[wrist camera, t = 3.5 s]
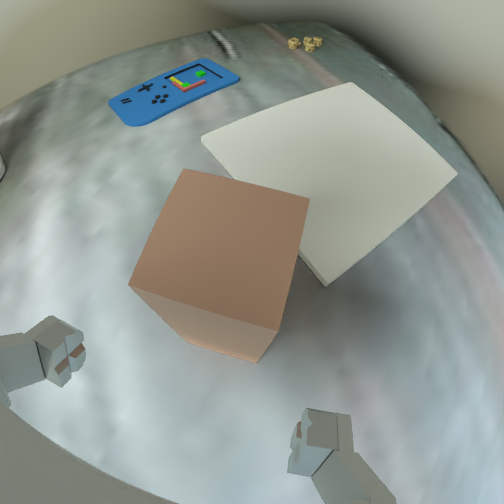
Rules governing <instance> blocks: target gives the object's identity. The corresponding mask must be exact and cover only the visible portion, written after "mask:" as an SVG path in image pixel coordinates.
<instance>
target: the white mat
mask: <svg viewBox="0 0 504 504" xmlns="http://www.w3.org/2000/svg"><path fill="white" fill-rule="evenodd" d="M201 142H202V143H203V144H204V146H205V147H206V148H207V149H208V150H209V151H210V152H211V153H212V154H213V156H214V157H215V158H216V159H217V160H218V161H219V162H220V163H221V165H222V166H223V167H224V168H225V169H226V170H227V171H228V173H229V174H230V175H231V176H232V177H233V178H234V179H235V180H239V181H243V182H247V183H251V184H256V185H260V186H264V187H268V188H272V189H276V190H280V191H284V192H287V193H291V194H295V195H299V196H303V197H306V198H310V201H309V206H308V211H307V215H306V220H305V224H304V229H303V233H302V238H301V242H300V247H299V251H298V255H299V256H300V257H301V258H302V260H303V261H304V262H305V263H306V264H307V266H308V267H309V268H310V269H311V270H312V272H313V273H314V274H315V275H316V277H317V278H318V279H319V280H320V282H321V283H322V284H323V285H324V286H325V287H326V286H328V285H329V284H330V283H332V282H333V281H334V280H335V279H337V278H338V277H339V276H341V275H342V274H343V273H344V272H346V271H347V270H348V269H350V268H351V267H352V266H353V265H355V264H356V263H357V262H358V261H360V260H361V259H362V258H363V257H365V256H366V255H367V254H368V253H369V252H371V251H372V250H373V249H374V248H376V247H377V246H378V245H379V244H380V243H382V242H383V241H384V240H385V239H386V238H388V237H389V236H390V235H391V234H392V233H394V232H395V231H396V230H397V229H398V228H399V227H401V226H402V225H403V224H404V223H405V222H406V221H408V220H409V219H410V218H411V217H412V216H413V215H414V214H416V213H417V212H418V211H419V210H420V209H421V208H422V207H423V206H425V205H426V204H427V203H428V202H429V201H430V200H431V199H432V198H433V197H435V196H436V195H437V194H438V193H439V192H440V191H441V190H442V189H443V188H444V187H445V186H446V185H448V184H449V183H450V182H451V181H452V180H453V179H454V178H455V177H456V175H457V174H458V173H457V172H456V171H455V170H454V169H453V168H452V167H451V166H450V165H449V164H448V163H447V162H446V161H445V160H444V159H443V158H442V157H441V156H440V155H439V154H438V153H437V152H436V151H435V150H434V149H433V148H432V147H431V146H430V145H429V144H428V143H426V142H425V141H424V140H423V139H422V138H421V137H420V136H419V135H418V134H417V133H415V132H414V131H413V130H412V129H411V128H410V127H409V126H407V125H406V124H405V123H404V122H403V121H402V120H400V119H399V118H398V117H397V116H396V115H394V114H393V113H392V112H391V111H389V110H388V109H387V108H386V107H384V106H383V105H382V104H381V103H379V102H378V101H377V100H375V99H374V98H373V97H371V96H370V95H369V94H367V93H366V92H365V91H363V90H362V89H360V88H359V87H358V86H356V85H355V84H353V83H352V82H349V83H345V84H342V85H338V86H335V87H331V88H328V89H325V90H321V91H318V92H315V93H312V94H308V95H305V96H302V97H299V98H296V99H293V100H290V101H288V102H285V103H282V104H279V105H276V106H274V107H271V108H268V109H265V110H263V111H260V112H258V113H255V114H252V115H250V116H247V117H245V118H242V119H240V120H237V121H235V122H233V123H230V124H228V125H225V126H223V127H221V128H218V129H216V130H214V131H212V132H209V133H207V134H205V135H203V136H201Z"/></svg>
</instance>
